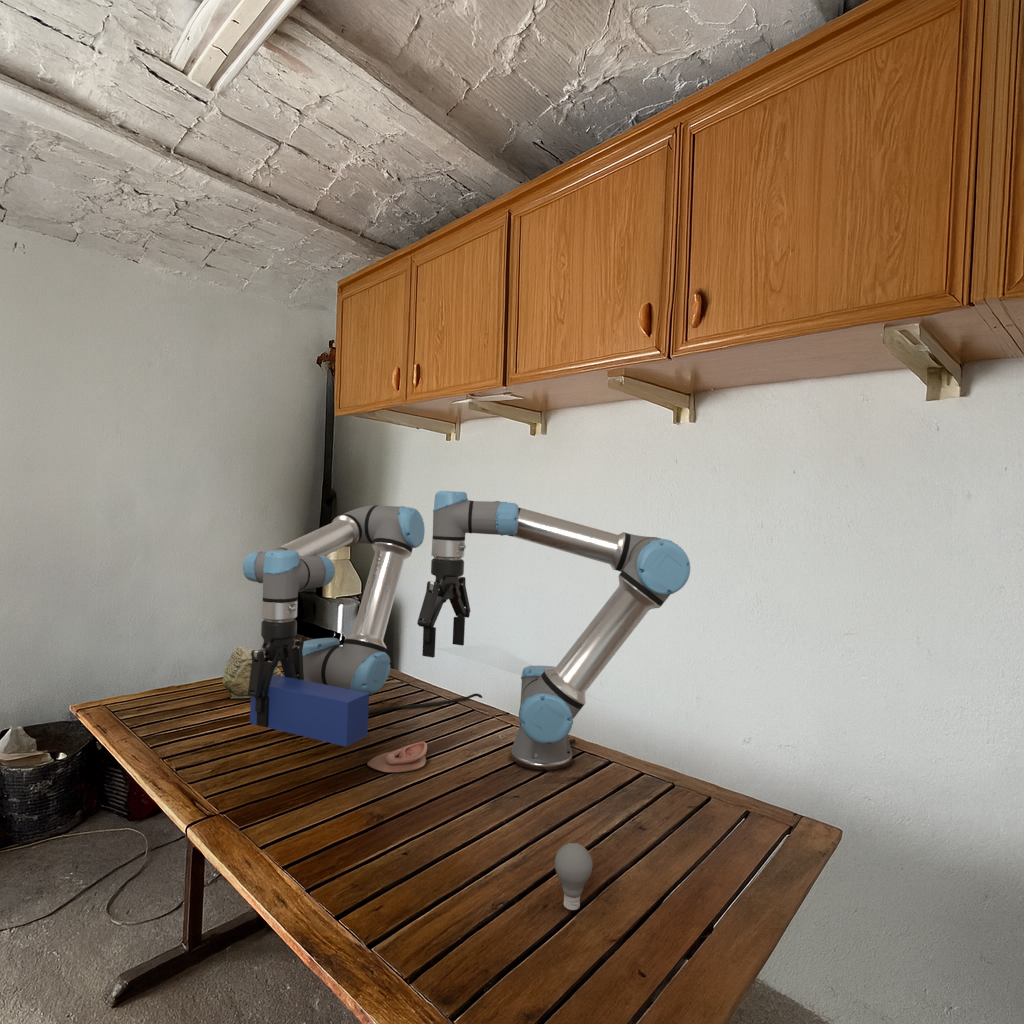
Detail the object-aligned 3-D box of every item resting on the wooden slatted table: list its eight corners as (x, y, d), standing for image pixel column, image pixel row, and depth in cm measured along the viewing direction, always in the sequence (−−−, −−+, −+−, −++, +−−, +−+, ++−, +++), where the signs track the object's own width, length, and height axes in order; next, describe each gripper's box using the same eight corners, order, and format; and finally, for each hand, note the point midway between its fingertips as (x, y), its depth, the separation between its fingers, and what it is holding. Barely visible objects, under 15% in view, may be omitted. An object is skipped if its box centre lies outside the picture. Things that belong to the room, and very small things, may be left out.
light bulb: (550, 895, 103) (552, 835, 103) (586, 895, 104) (589, 835, 104) (555, 920, 97) (558, 856, 97) (594, 919, 98) (597, 855, 98)
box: (249, 723, 141) (251, 682, 141) (273, 713, 148) (275, 674, 148) (346, 747, 131) (347, 702, 130) (367, 735, 137) (369, 693, 137)
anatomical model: (361, 752, 147) (381, 734, 159) (361, 769, 148) (381, 750, 159) (415, 759, 145) (432, 741, 156) (415, 776, 145) (431, 757, 156)
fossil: (218, 695, 195) (220, 647, 195) (278, 685, 208) (279, 640, 207) (228, 703, 189) (230, 653, 188) (289, 692, 201) (290, 645, 201)
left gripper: (257, 628, 132) (253, 738, 132) (323, 614, 150) (319, 710, 151) (231, 624, 135) (227, 731, 135) (298, 610, 153) (294, 704, 154)
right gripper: (434, 563, 132) (429, 664, 133) (486, 556, 155) (482, 642, 155) (403, 560, 135) (399, 659, 136) (459, 553, 158) (455, 638, 158)
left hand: (275, 720), depth 143 cm, fingers closed on box, 7 cm apart
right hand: (443, 650), depth 146 cm, fingers open, 13 cm apart
